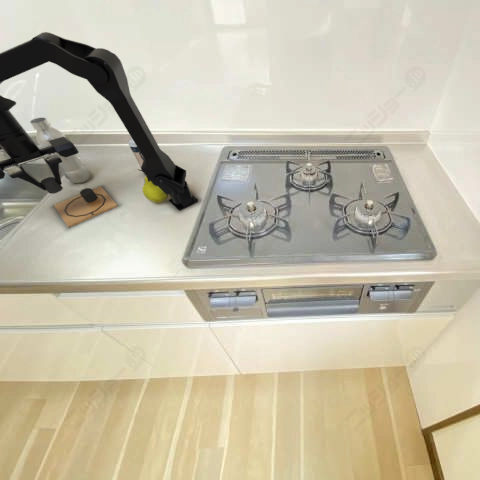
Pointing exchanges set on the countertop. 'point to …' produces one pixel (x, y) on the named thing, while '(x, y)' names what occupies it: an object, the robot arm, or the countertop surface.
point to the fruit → (153, 192)
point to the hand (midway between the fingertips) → (53, 186)
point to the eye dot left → (51, 185)
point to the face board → (84, 207)
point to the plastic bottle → (69, 165)
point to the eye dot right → (88, 195)
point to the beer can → (136, 152)
